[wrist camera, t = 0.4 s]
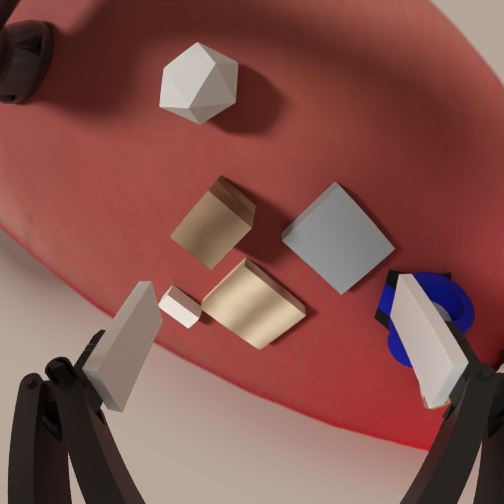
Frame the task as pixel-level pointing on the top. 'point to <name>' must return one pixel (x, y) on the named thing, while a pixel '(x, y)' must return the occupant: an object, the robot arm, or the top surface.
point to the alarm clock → (442, 297)
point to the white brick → (180, 306)
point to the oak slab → (253, 305)
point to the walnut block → (216, 223)
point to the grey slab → (337, 239)
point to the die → (199, 84)
